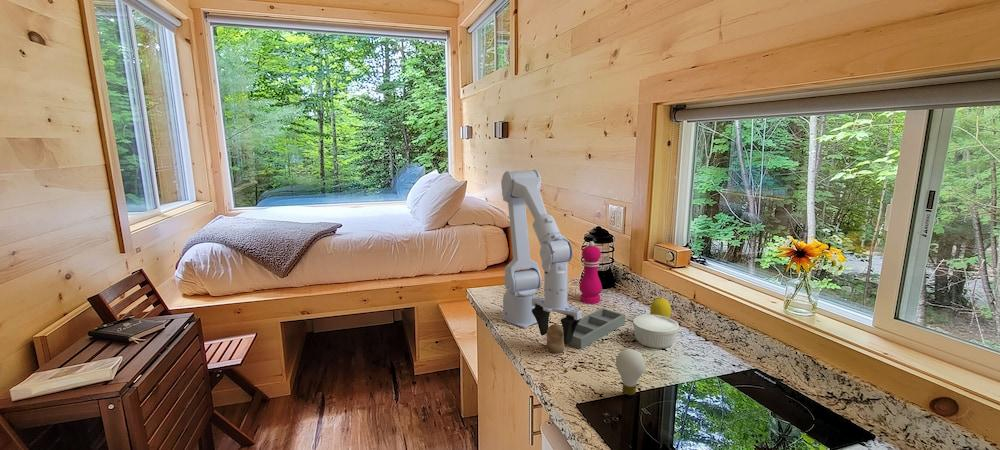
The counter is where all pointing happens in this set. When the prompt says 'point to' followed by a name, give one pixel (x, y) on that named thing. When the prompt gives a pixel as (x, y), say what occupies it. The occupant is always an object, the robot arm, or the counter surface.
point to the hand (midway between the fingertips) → (555, 338)
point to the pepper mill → (591, 275)
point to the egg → (555, 339)
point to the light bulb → (630, 369)
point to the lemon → (660, 307)
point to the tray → (596, 327)
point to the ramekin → (655, 330)
